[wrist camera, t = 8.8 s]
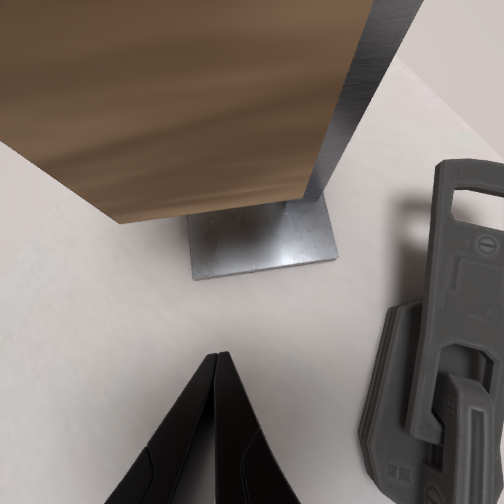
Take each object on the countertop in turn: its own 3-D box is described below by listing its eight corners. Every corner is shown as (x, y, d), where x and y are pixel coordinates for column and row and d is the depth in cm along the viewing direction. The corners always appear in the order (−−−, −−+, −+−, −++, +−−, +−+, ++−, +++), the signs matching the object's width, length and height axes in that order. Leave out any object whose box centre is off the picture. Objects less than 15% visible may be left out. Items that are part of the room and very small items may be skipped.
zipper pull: (566, 173, 17) (596, 635, 11) (482, 211, 24) (474, 519, 18) (436, 147, 18) (401, 568, 12) (389, 191, 25) (351, 480, 19)
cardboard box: (302, 198, 13) (588, -594, 2) (119, 224, 13) (-860, -460, 2) (272, 62, 16) (308, -598, 5) (120, 82, 16) (-245, -548, 4)
